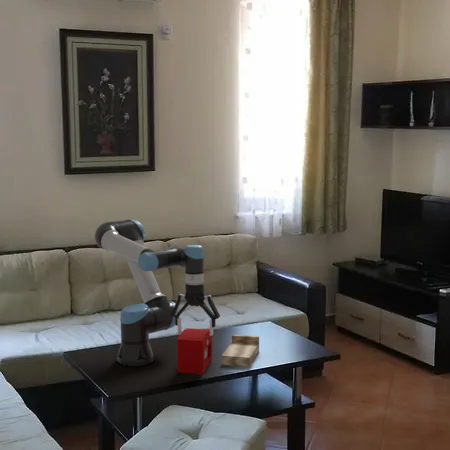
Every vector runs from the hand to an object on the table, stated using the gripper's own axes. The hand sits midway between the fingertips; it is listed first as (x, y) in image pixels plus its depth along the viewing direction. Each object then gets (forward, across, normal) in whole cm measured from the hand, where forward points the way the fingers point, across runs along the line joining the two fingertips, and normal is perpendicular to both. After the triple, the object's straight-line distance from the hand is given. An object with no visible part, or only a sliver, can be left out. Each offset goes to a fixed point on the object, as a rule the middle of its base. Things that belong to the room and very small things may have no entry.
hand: (195, 334), depth 282 cm
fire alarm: (+14, 0, 0) cm, 14 cm away
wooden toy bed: (+14, +16, +15) cm, 26 cm away
